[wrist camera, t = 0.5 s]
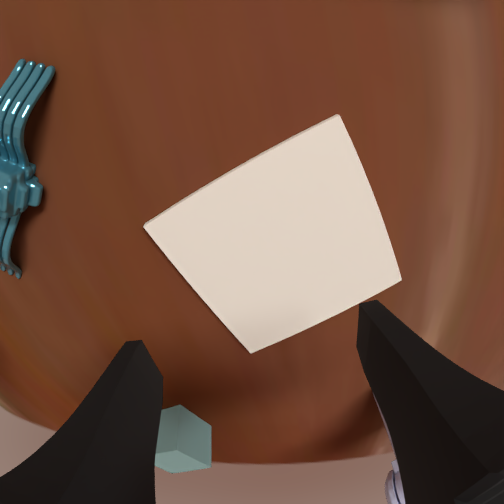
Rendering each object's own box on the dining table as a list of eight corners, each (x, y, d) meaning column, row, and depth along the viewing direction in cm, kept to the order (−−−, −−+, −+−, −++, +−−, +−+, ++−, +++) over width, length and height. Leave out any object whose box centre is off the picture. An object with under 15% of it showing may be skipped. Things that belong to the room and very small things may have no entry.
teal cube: (211, 425, 29) (211, 467, 24) (174, 434, 30) (171, 473, 25) (180, 403, 26) (176, 450, 22) (142, 414, 27) (136, 456, 23)
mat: (399, 276, 20) (401, 279, 20) (250, 349, 23) (250, 353, 22) (336, 114, 15) (339, 115, 14) (144, 223, 17) (143, 226, 17)
